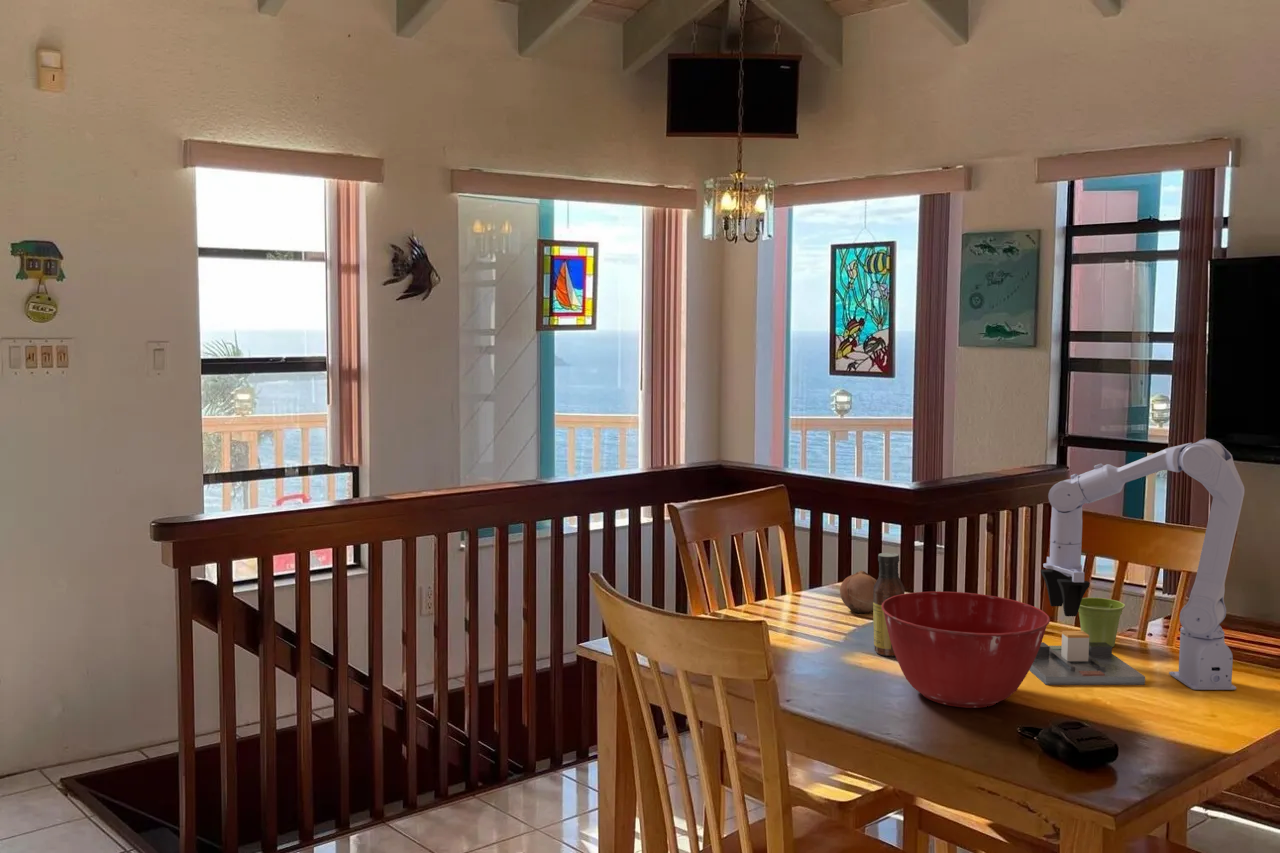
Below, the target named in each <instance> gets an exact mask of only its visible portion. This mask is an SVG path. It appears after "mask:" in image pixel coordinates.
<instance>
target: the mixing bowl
mask: <svg viewBox="0 0 1280 853" xmlns="http://www.w3.org/2000/svg"><path fill="white" fill-rule="evenodd" d="M881 607H882V610H883V612H884V616H885V621H886V625H887V629H888V634H889V637H890V641H891V644H892V647H893V650H894V653H895V656H894V657H895V658H896V660H897V663H898V665H899V667H900V669H901V672H902V674H903V675H904V677H905V679H906V680H907V682H908V683H909V684H910V685H911V687H912V688H914V690H915V691H917V692H918V693H920V694H921V695H922V697H924V698H926V699H928V700H930V701H933V702H934V703H938V704H941V705H945V706H950V707H957V708H966V709H967V708H969V709H978V708H987V706H988V707H991V706H994V705H996V703H997V704H998V703H999V702H1002V701H1003V700H1006V699H1008V698H1009V697H1011V696H1012V695H1013V694H1014V693H1015V692H1017V690H1018V689H1019V687H1020V686H1021V684H1022V683H1023V682H1024V680H1025V678H1027V674H1028V673H1029V671H1030V668H1031V666H1032V664H1033V662H1034V660H1035V657H1036V655H1037V653H1038V650H1039V648H1040V645H1041V642H1043V639H1044V637H1045V636H1044V635H1045V633H1046V630H1047V626H1048V625H1049V624H1050V621H1051V620H1050V619H1051V618H1050V616H1049V615H1048V614H1047V613H1046V612H1045V611H1044V610H1042V609H1040V608H1038V607H1035V606H1033V605H1031V604H1029V603H1025V602H1021V601H1019V600H1018V601H1017V600H1015V599H1010V598H1006V597H999V596H996V595H989V594H983V593H982V594H981V593H980V594H979V593H973V592H964V591H963V592H960V591H920V592H919V591H918V592H909V593H908V592H907V593H905V594H901V595H896V596H893V597H890V598H888V599H886V600H885V601H884V602H883V603H882V606H881Z"/></svg>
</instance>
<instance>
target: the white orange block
mask: <svg viewBox="0 0 1280 853" xmlns="http://www.w3.org/2000/svg"><path fill="white" fill-rule="evenodd" d="M1061 646H1062V649H1061V656H1062V657H1063V658H1064V659H1065V660H1067V661H1088V656H1089V635H1088V634H1087V633H1085V632H1084V631H1081V630H1062V631H1061Z"/></svg>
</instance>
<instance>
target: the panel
mask: <svg viewBox="0 0 1280 853" xmlns="http://www.w3.org/2000/svg"><path fill="white" fill-rule="evenodd" d="M1061 649H1062V645H1048V644H1047V643H1046V642H1045V641H1042V642H1041V645H1040V648H1039V650H1038V653H1037V655H1036V657H1035V660H1034V662H1033V664H1032V666H1031V668H1030V670H1029V671H1030V673H1031V674H1033V675H1034V676H1035V677H1036V678H1038V679H1039V680H1040V681H1041V682H1042V683H1043V684H1044V685H1046V686H1049V685H1050V686H1051V685H1053V686H1061V685H1062V686H1063V685H1065V686H1070V685H1071V686H1076V685H1077V686H1078V685H1080V686H1081V685H1082V686H1086V685H1087V686H1094V685H1095V686H1097V685H1099V686H1101V685H1103V686H1104V685H1105V686H1108V685H1109V686H1111V685H1113V686H1114V685H1115V686H1121V685H1122V686H1123V685H1125V686H1129V685H1131V686H1132V685H1134V686H1136V685H1137V686H1139V685H1140V686H1142V685H1143V686H1144V685H1146V676H1145V675H1143V674H1142V673H1141V672H1139V671H1138V670H1136V669H1135V668H1134V667H1132V666H1131V665H1130V664H1128V663H1126V662H1125V661H1123V660H1122V659H1121V658H1119V657H1118V656H1117V655H1114V653H1113V647H1112V646H1110V645H1109V644H1107V643H1106V642H1089V656H1088V661H1067V660H1065V659H1064V658H1063V657H1062V656H1061Z"/></svg>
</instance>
